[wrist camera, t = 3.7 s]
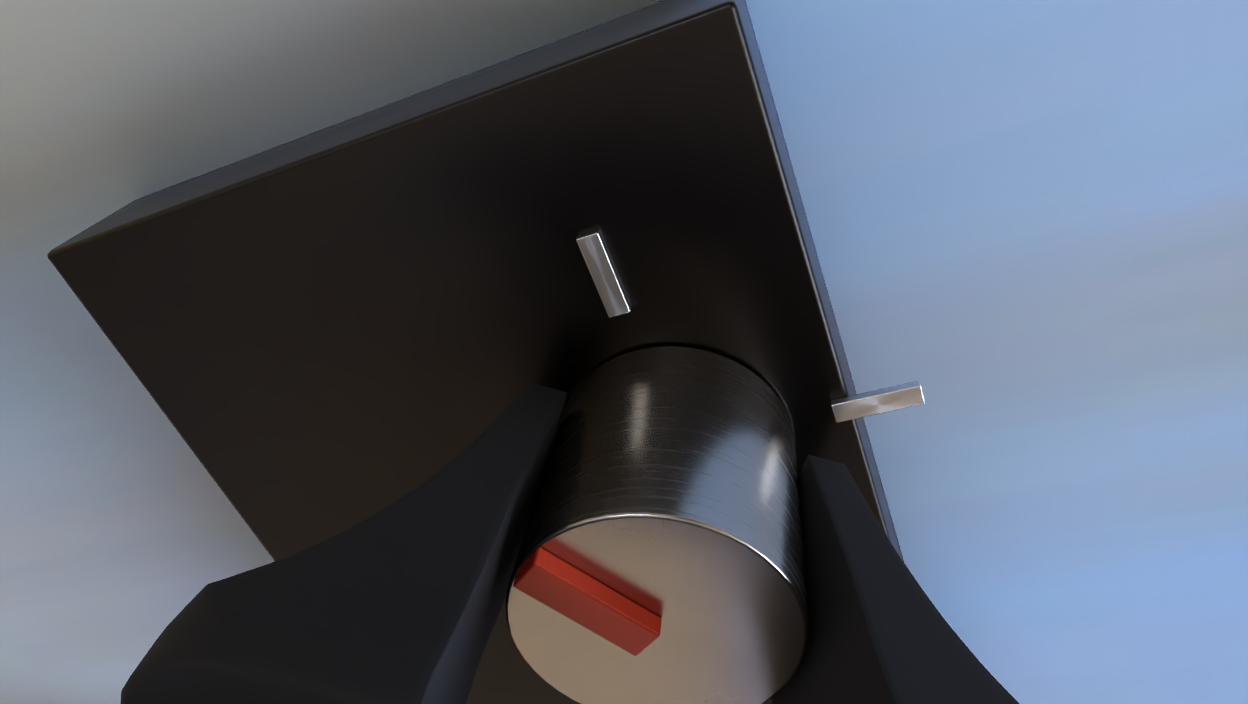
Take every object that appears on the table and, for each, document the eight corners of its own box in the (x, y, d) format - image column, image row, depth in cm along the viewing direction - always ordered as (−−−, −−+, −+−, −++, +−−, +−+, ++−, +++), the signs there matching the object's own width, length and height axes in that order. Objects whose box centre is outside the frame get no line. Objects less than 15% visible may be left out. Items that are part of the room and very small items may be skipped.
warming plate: (981, 657, 20) (1010, 762, 18) (485, 722, 24) (457, 816, 21) (809, -55, 13) (821, -30, 10) (133, 200, 16) (35, 258, 14)
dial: (845, 433, 14) (878, 643, 10) (698, 565, 16) (682, 781, 12) (648, 299, 13) (609, 476, 10) (518, 456, 15) (445, 653, 12)
